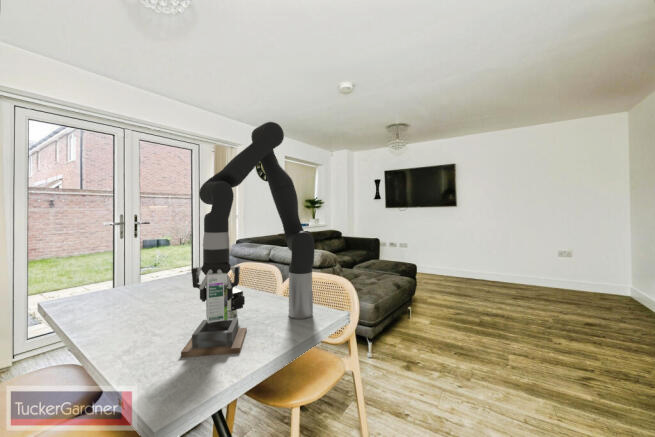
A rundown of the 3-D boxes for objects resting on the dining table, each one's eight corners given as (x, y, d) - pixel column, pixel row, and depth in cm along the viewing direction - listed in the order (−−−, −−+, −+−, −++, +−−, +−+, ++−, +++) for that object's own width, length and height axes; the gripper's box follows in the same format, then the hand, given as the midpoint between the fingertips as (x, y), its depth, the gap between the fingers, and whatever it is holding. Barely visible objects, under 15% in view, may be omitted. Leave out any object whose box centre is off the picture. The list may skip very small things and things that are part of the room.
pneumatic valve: (233, 325, 99) (233, 291, 99) (217, 316, 107) (217, 286, 106) (247, 320, 103) (247, 288, 103) (230, 312, 111) (230, 283, 111)
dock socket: (246, 332, 93) (246, 315, 93) (240, 352, 79) (240, 334, 79) (196, 335, 91) (196, 318, 91) (180, 357, 77) (180, 337, 77)
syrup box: (207, 323, 81) (207, 274, 81) (205, 317, 86) (205, 271, 86) (227, 320, 84) (227, 273, 83) (225, 314, 89) (225, 269, 89)
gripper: (242, 245, 89) (242, 295, 90) (195, 245, 87) (195, 297, 88) (238, 248, 82) (238, 303, 82) (187, 248, 80) (187, 305, 80)
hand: (216, 300), depth 85 cm, fingers closed on syrup box, 6 cm apart
